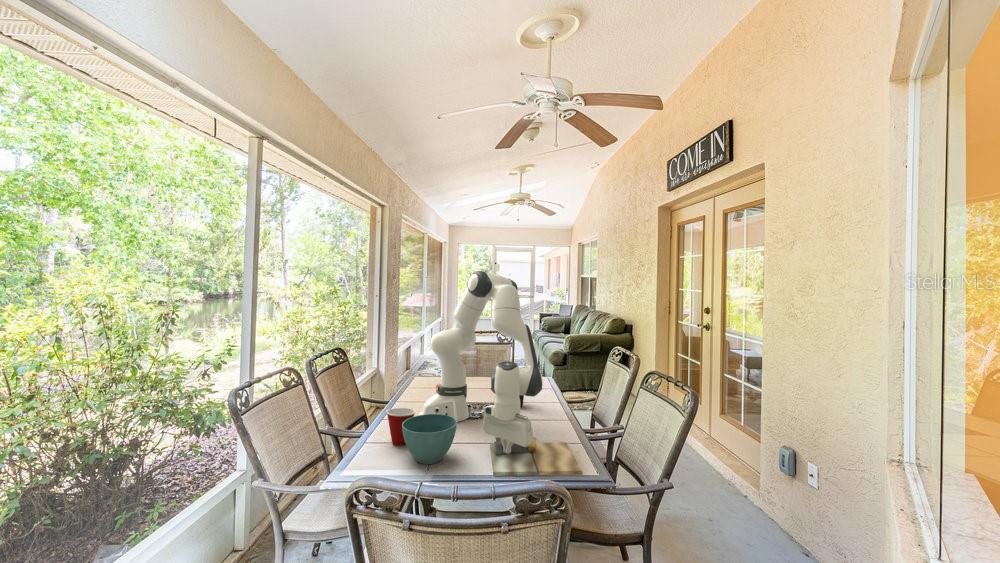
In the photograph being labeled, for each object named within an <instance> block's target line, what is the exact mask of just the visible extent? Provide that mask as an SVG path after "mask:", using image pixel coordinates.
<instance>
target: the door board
mask: <svg viewBox="0 0 1000 563" xmlns="http://www.w3.org/2000/svg"><path fill="white" fill-rule="evenodd" d="M489 447H490V448H489V450H490V458H491V460H490V461H491V469H492V475H493V477H503V476H505V477H507V476H508V477H511V476H514V477H515V476H517V477H518V476H555V475H557V476H559V475H560V476H562V475H563V476H565V475H567V476H568V475H582V474H583V470H582V468H581V466H580V464H579V462H578V460H577V459H576V458H575V456H574V454H573V452H572V451H571V448H570V447H569V444H568V443H567V442H565V441H563V442H562V441H559V442H536V451H535V452H524V453H513V454H502V455H495V453H494V442H492V443H491V442H490V443H489Z"/></svg>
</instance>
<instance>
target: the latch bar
mask: <svg viewBox="0 0 1000 563" xmlns="http://www.w3.org/2000/svg"><path fill="white" fill-rule="evenodd" d="M493 443H494V453H495V455H502V454H507V453H505V452H504V451H503V445H502V443H501V441H496V440H495V441H493ZM536 443H537V438H536V437H534V436H533V443H532V444H531V445H530V446H527V447H523V446H520V445H518V444H515V443H513V445H512V447H511V453H509V454H513V453H524V452H535V451H536Z"/></svg>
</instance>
